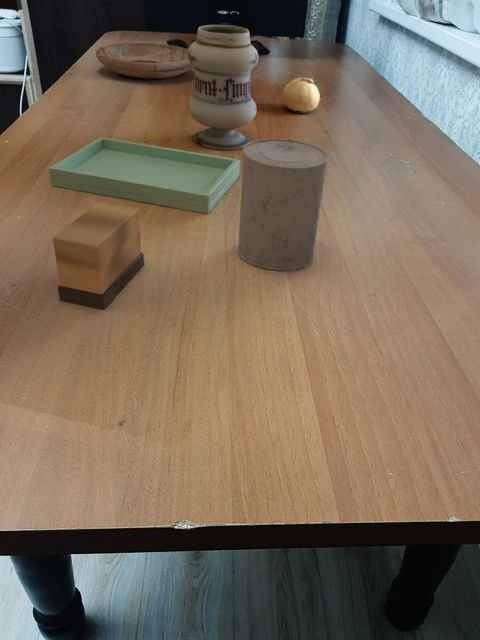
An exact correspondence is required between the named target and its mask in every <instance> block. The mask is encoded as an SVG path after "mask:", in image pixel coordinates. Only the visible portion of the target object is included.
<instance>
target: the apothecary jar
mask: <svg viewBox="0 0 480 640" xmlns="http://www.w3.org/2000/svg"><path fill="white" fill-rule="evenodd" d="M250 35H251V33H250V30H249V29H248V28H245V27H242V26H236V25H228V24H227V25H226V24H225V25H224V24H206V25H201V26H199V27H198V28H197V33H196V37H195V38H196V39H195V40H194V41H193V42H192V43H191V44H190V45H189V47H188V48H187V49H188V59H189V61H190V62H191V63H192V64H193V65H192V66H193V67H194V94H192V95H191V97H190V98H189V100H188V103H187V110H188V111H187V112H188V113H189V115H190V116H191V117H192V119H193V120H194V121H196V122H197V123H199V124H201V125H203V126H205V127H208V128H206V129H204V130H203V129H202V130H200V131H198V132H196V133H195V134H194V136H193V141H194V142H195V144H200V145H201V147H205V148H208V149H213V150H218V151H219V150H220V151H221V150H222V151H231V150H238V149H243V148H244V146H245V145H246V144H248V143H249V138H248V137H247V136H246V135H244V134H243V133H241V132H239V131H238V130H235V129H238V128H242V127H245V126H246V125H248V124H249V123H251V122H252V120H254V119H255V118H256V115H257V111H258V109H257V108H258V107H257V105H256V102H255V100H254V99H253V98H252V97H251V75H252V74H251V73H252V70H253V69H254V68H255V67H256V66H257V65H258V64H259V63H258V62H259V58H260V57H259V53H258V50H257V49H256V48H255V46H254V45H253V44H252V43H251V38H250Z"/></svg>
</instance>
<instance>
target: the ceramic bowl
mask: <svg viewBox="0 0 480 640" xmlns="http://www.w3.org/2000/svg"><path fill="white" fill-rule="evenodd" d="M188 49H189V48H185V47H181V46H178V45H171V44H164V43H152V42H122V43H121V42H120V43H112V44H106V45H103V46H99V47H98V48H97V49H95V56H96V59H97V60H98V61H99V63H100V64H101V65H103V67H105V68H107V69H109V70H110V71H112V72H114V73H117V74H119V75H122V76H126V77H127V76H128V77H132V78H138V79H153V80H154V79H165V78H172V77H176V76H179V75H182V74H183V73H185V72H187V71H188V70H190V69H192V67H193V66H194V65H193V64H192V63H191V62H190V61H189V59H188Z"/></svg>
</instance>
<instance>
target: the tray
mask: <svg viewBox="0 0 480 640" xmlns="http://www.w3.org/2000/svg"><path fill="white" fill-rule="evenodd" d="M240 168H241V160H240V159H237V158H230V157H225V156H219V155H213V154H207V153H201V152H196V151H195V152H194V151H189V150H182V149H177V148H171V147H166V146H165V147H164V146H160V145H159V146H158V145H152V144H145V143H141V142H134V141H129V140H128V141H127V140H123V139H117V138H116V139H115V138H110V137H103V136H99V137H98V138H96V139H94V140H93V141H91V142H89V143H88V144H86V145H84V146H83V147H81V148H79V149H77V150H76V151H74V152H73V153H72V154H69V155H67V156H66V157H64V158H62V159H61V160H59V161H57V162H56V163H54V164H53V165H51V166H50V167H48V173H49V180H50V185H51V187H56V188H57V187H58V188H63V189H68V190H74V191H78V192H79V191H80V192H84V193H85V192H86V193H91V194H97V195H102V196H107V197H113V198H119V199H124V200H128V201H129V200H130V201H135V202H141V203H146V204H152V205H157V206H162V207H163V206H164V207H168V208H174V209H180V210H185V211H191V212H195V213H202V214H209V213H211V211H212V210H213V209H214V208H215V206H216V205H217V204H218V202H219V201H220V200H221V199H222V198H223V196H224V195H225V194H226V193H227V191H228V190H229V189H230V188H231V187H232V186H233V184H234V183H235V182H236V181H237V179H239V177H240V170H241V169H240Z"/></svg>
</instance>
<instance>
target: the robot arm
mask: <svg viewBox="0 0 480 640" xmlns="http://www.w3.org/2000/svg"><path fill="white" fill-rule="evenodd" d="M0 10H7V11H21V10H23V4H22V0H0Z"/></svg>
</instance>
